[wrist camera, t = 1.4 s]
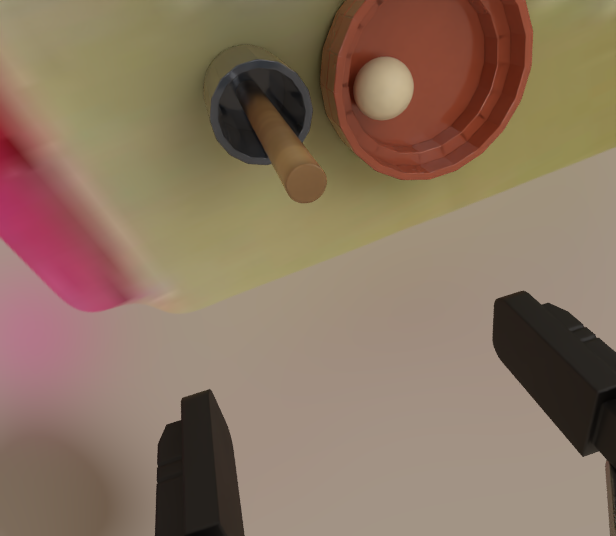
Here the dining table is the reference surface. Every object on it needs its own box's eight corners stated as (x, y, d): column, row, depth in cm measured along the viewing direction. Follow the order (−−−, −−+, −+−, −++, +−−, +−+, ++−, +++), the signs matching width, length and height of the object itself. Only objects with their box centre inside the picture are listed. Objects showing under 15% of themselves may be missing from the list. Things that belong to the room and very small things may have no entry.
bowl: (298, -14, 32) (313, -12, 29) (500, -72, 34) (538, -77, 30) (339, 184, 41) (354, 204, 38) (498, 132, 42) (528, 147, 39)
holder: (190, 59, 33) (194, 77, 27) (276, 33, 34) (299, 46, 28) (220, 144, 37) (229, 177, 31) (297, 120, 37) (321, 148, 31)
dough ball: (340, 61, 35) (360, 72, 32) (395, 45, 35) (421, 53, 32) (350, 119, 38) (370, 135, 34) (402, 103, 38) (426, 117, 34)
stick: (232, 84, 34) (281, 171, 19) (256, 76, 34) (322, 158, 19) (240, 108, 35) (291, 209, 20) (263, 101, 35) (330, 196, 21)
